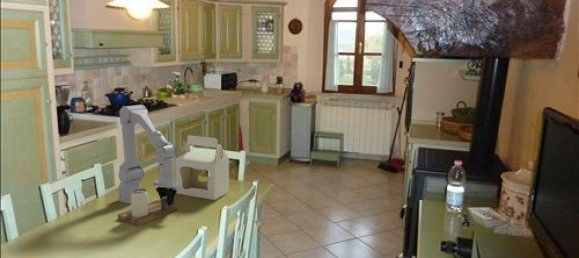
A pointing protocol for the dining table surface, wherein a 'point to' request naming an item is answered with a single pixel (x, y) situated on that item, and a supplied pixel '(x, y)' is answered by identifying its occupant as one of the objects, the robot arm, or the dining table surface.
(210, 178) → the gable box
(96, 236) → the dining table surface
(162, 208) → the tan channel tray
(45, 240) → the dining table surface
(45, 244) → the dining table surface
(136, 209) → the can
